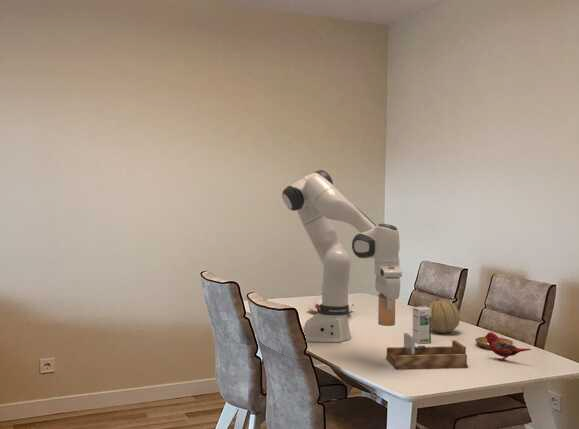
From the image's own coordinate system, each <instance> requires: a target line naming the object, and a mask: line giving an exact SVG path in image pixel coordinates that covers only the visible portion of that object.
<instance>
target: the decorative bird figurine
mask: <svg viewBox="0 0 579 429" xmlns="http://www.w3.org/2000/svg"><path fill="white" fill-rule="evenodd" d="M484 337H486V338H487V341H488V343H489V346H490V348H491V349H490V350H491V351H492V352H493V353H494V354H495V355H497V356H500V357H502V358H500V357H494V359H495V360H498V361H504V362H506V361H507V362H508V361H509V360H508V359H507V358H508V357H512V356H516V355H517V354H519V353H521V352H526V351H531V350H532V348H519V347H517V346H515V345H513V344H510V343H508V342H505V341H503V340H501V339H500V338H501V337H499V336H498V335H497V334H495V333H494V332H492V331H489V332H487V333H486V335H485V336H484Z"/></svg>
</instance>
